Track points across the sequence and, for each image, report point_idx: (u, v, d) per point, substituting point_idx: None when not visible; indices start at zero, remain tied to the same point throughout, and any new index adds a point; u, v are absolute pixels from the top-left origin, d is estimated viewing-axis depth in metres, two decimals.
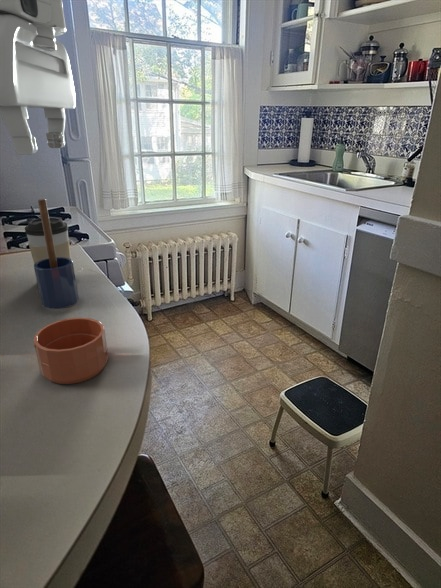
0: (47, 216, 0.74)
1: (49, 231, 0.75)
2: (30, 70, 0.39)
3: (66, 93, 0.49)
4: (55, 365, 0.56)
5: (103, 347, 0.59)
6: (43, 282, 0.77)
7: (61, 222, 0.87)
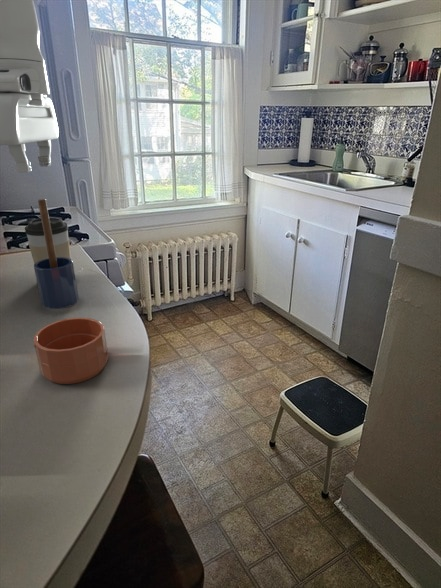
0: (47, 216, 0.74)
1: (49, 231, 0.75)
2: (27, 121, 0.64)
3: (51, 130, 0.74)
4: (55, 365, 0.56)
5: (103, 347, 0.59)
6: (43, 282, 0.77)
7: (61, 222, 0.87)
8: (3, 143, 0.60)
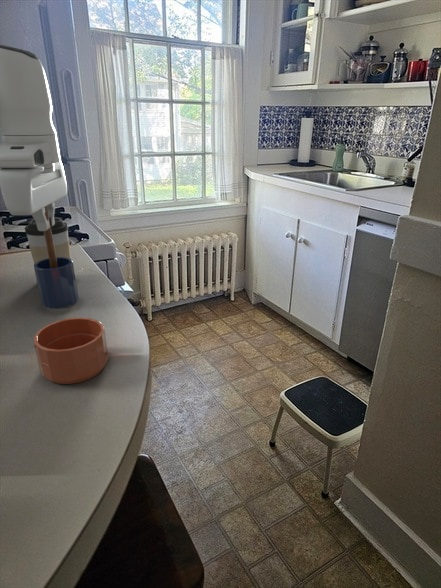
0: (47, 216, 0.74)
1: (49, 231, 0.75)
2: (39, 189, 0.68)
3: (61, 189, 0.78)
4: (55, 365, 0.56)
5: (103, 347, 0.59)
6: (43, 282, 0.77)
7: (61, 222, 0.87)
8: (18, 214, 0.65)
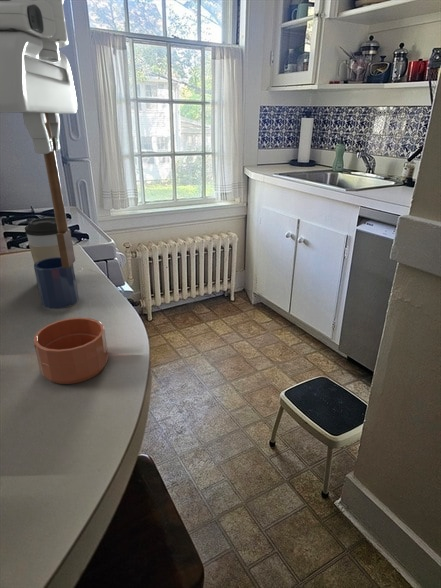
0: (49, 132, 0.50)
1: (52, 156, 0.51)
2: (37, 80, 0.44)
3: (68, 99, 0.54)
4: (55, 365, 0.56)
5: (103, 347, 0.59)
6: (43, 282, 0.77)
7: None
8: (3, 109, 0.40)
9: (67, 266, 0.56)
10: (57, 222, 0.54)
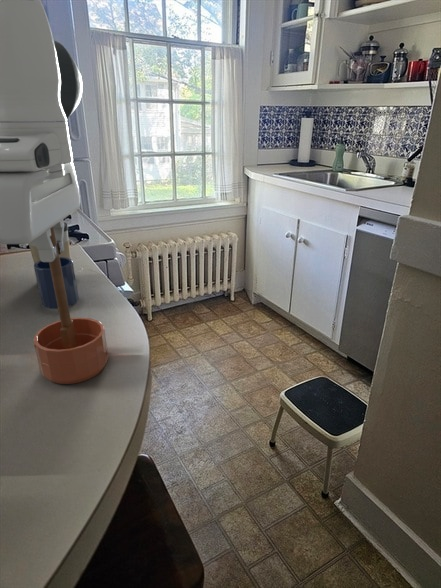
0: (54, 240, 0.52)
1: (57, 261, 0.53)
2: (43, 204, 0.46)
3: (72, 200, 0.56)
4: (55, 365, 0.56)
5: (103, 347, 0.59)
6: (43, 282, 0.77)
7: None
8: (10, 242, 0.42)
9: None
10: (61, 318, 0.56)
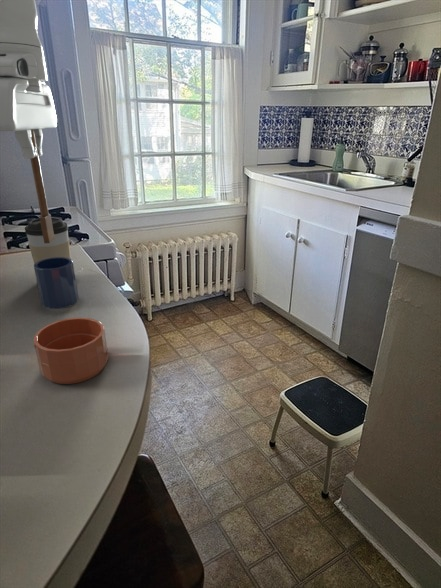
0: (34, 143, 0.69)
1: (36, 160, 0.70)
2: (24, 107, 0.63)
3: (49, 118, 0.72)
4: (55, 365, 0.56)
5: (103, 347, 0.59)
6: (43, 282, 0.77)
7: (61, 222, 0.87)
8: (0, 129, 0.59)
9: (48, 242, 0.75)
10: (40, 209, 0.73)
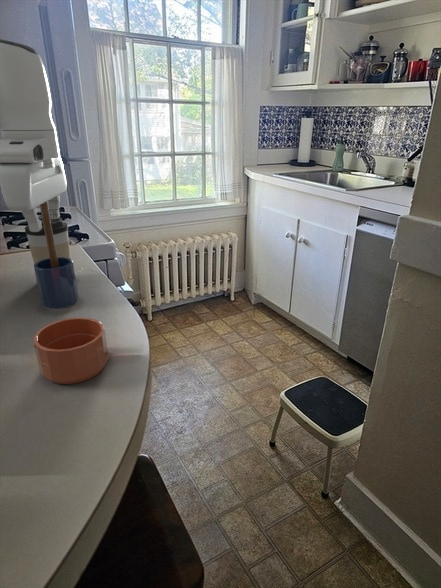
0: (48, 216, 0.74)
1: (50, 231, 0.75)
2: (39, 185, 0.68)
3: (60, 185, 0.78)
4: (55, 365, 0.56)
5: (103, 347, 0.59)
6: (43, 282, 0.77)
7: (61, 222, 0.87)
8: (17, 209, 0.64)
9: None
10: None
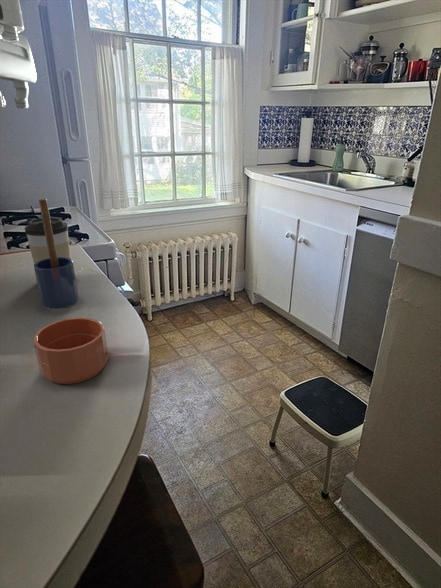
0: (48, 216, 0.74)
1: (50, 231, 0.75)
2: (0, 53, 0.63)
3: (28, 71, 0.73)
4: (55, 365, 0.56)
5: (103, 347, 0.59)
6: (43, 282, 0.77)
7: (61, 222, 0.87)
8: None
9: None
10: None
